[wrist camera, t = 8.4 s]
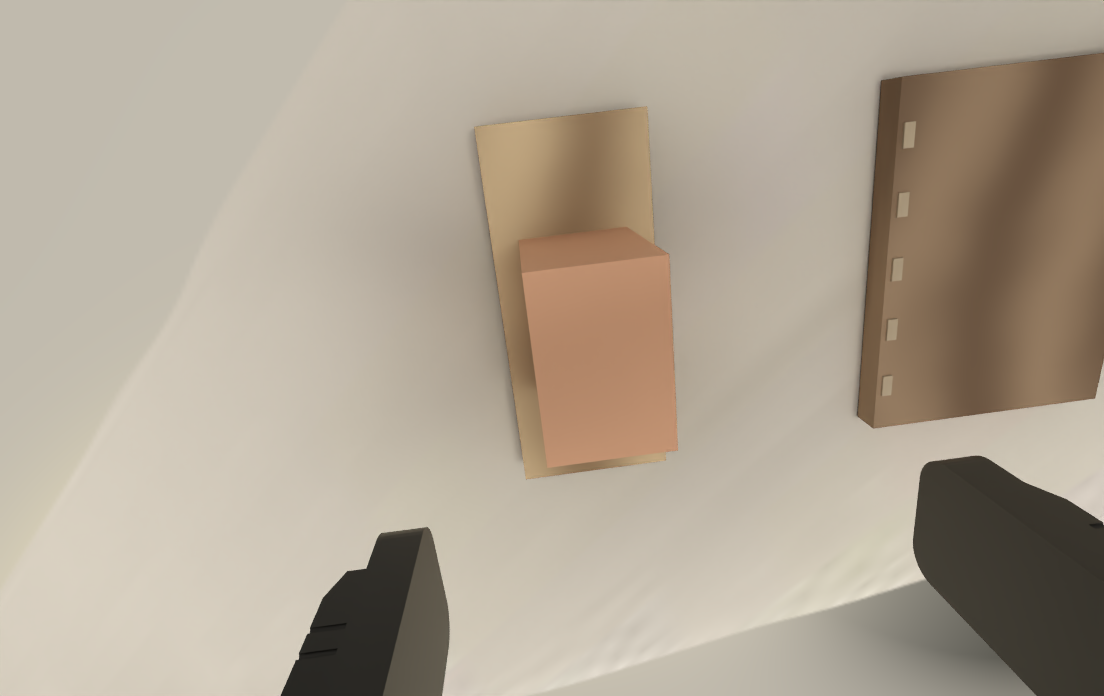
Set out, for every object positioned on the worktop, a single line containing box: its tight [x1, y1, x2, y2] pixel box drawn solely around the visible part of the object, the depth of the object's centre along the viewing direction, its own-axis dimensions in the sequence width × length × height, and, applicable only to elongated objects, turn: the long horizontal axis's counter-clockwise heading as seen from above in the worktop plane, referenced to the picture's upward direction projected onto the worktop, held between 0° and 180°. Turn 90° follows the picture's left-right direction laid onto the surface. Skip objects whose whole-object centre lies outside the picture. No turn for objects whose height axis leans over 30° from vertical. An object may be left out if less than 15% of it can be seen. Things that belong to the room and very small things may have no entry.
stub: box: [474, 106, 678, 479], centre depth 20 cm, size 6×14×7 cm, turn 6°
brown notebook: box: [858, 53, 1104, 428], centre depth 23 cm, size 10×14×1 cm
